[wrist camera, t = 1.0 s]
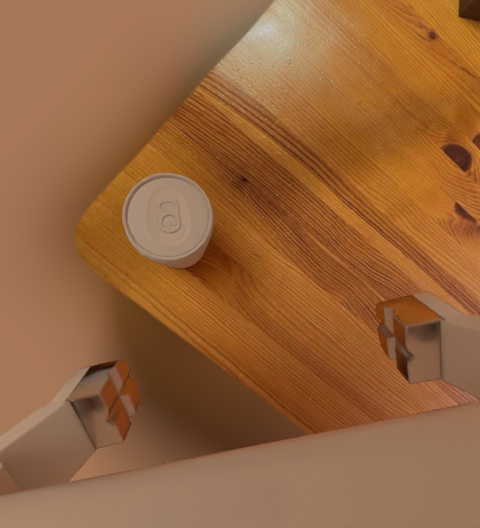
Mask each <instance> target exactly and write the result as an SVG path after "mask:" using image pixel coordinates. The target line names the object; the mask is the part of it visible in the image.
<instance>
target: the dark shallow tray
mask: <svg viewBox="0 0 480 528" xmlns="http://www.w3.org/2000/svg"><path fill="white" fill-rule="evenodd" d="M459 16H462V17H466V18H470V19H474V20H478V21H480V0H460V5H459Z"/></svg>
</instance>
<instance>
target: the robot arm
mask: <svg viewBox="0 0 480 528" xmlns="http://www.w3.org/2000/svg"><path fill="white" fill-rule="evenodd" d="M375 310H376V316H377V318H378V319H379V320H380V321H381V323H380V325H379V327H378V328H377V329H378V336H379V340H380V343H381V346H382V348H383V350H384V352H385V353H386V355H387V356H388V357H389V358H390V359H392V360H395V361H396V362H397V369H398V370H399V371H400V372H401V374H402V375H403V376H404V377H405V379H406V380H407V381H408V382H409V384H414V383H420V382H426V381H431V380H437V379H442V380H443V381H445V382H447V383H449V384H451V385H453V386H455V387H457V388H459V389H461V390H463V391H465V392H467V393H469V394H470V395H472V396H474V397H476V398H478V399H480V315H475V314H469V315H465V314H463V313H462V312H460V311H459V310H457V309H456V308H454V307H453V306H451V305H450V304H448V303H447V302H445V301H443V300H442V299H440V298H439V297H437V296H436V295H434V294H433V293H431V292H429V291H423V292H420V293H416V294H412V295H408V296H404V297H400V298H396V299H392V300H388V301H384V302H380V303H377V304H376V308H375ZM129 373H130V368H129V366H128V364H127V362H126V361H124V360H117V361H113V362H108V363H103V364H98V365H94V366H88V367H83V368H80V369H77V370H75V371H74V373H73V374H72V375H71V376H70V378H69V379H68V380H67V381H66V383H65V384H64V385H63V387H62V388H61V389H60V390H59V392H58V393H57V394H56V395H55V397H54V398H53V399H52V401H51V402H50V403H49V404H48V405H47V406H43V407H41V408H40V409H38V410H37V411H35V412H34V413H33V414H31V415H30V416H28V417H27V418H25V419H24V420H22V421H21V422H20V423H18V424H17V425H15V426H14V427H12V428H11V429H9V430H8V431H7V432H5V433H4V434H2V435H1V436H0V528H480V401H478V402H473V403H468V404H463V405H458V406H453V407H447V408H442V409H437V410H432V411H427V412H422V413H417V414H412V415H407V416H402V417H397V418H392V419H387V420H381V421H376V422H371V423H366V424H361V425H356V426H351V427H346V428H341V429H336V430H331V431H326V432H321V433H315V434H310V435H305V436H300V437H295V438H290V439H286V440H281V441H275V442H270V443H265V444H260V445H255V446H250V447H245V448H239V449H234V450H230V451H224V452H220V453H214V454H210V455H204V456H199V457H194V458H189V459H184V460H179V461H173V462H168V463H163V464H158V465H153V466H148V467H143V468H138V469H133V470H128V471H122V472H117V473H113V474H107V475H102V476H97V477H92V478H87V479H82V480H77V481H72V482H69V481H70V479H71V478H72V477H73V476H74V475H75V474H76V473H77V471H78V470H79V469H80V468H81V467H82V466H83V465H84V463H85V462H86V461H87V460H88V459H89V458H90V457H91V456H92V454H93V453H94V452H95V451H96V449H98V448H102V447H107V446H111V445H114V444H119V443H123V442H124V440H125V437H126V435H127V432H128V430H129V428H130V425H131V422H130V420H129V418H130V417H131V416H132V415H133V414H134V413H135V412H136V410H137V408H138V405H139V390H138V386H137V384H136V381H135V380H133V379H131V378H130V377H129Z"/></svg>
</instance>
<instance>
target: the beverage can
mask: <svg viewBox="0 0 480 528" xmlns="http://www.w3.org/2000/svg"><path fill="white" fill-rule="evenodd" d="M123 224H124V228H125V232H126V235H127V237H128V239H129V240H130V242H131V244H132V245H133V247H135V248H136V249H137V250H138V251H139V252H140V253H141V254H142V255H144V256H145V257H147V258H149V259H151V260H153V261H155V262H158V263H161V264H163V265H166V266H169V267H172V268H186V267H190V266H192V265H193V264H195V263H197V262H198V261H199V260H200V259H201V257H202V256H203V254H204V252H205V250H206V248H207V245H208V243H209V241H210V238H211V236H212V232H213V228H214V212H213V209H212V205H211V202H210V201H209V199H208V197H207V195H206V194H205V192H204V190H203V189H202V188H201V187H200V186H199V185H198V184H197V183H196V182H194V181H192V180H191V179H189V178H187V177H186V176H182V175H179V174H176V173H159V174H154V175H150V176H149V177H147V178H145V179H143V180H141V181H140V182H138V183H137V184H136V185H135V186H134V187H133V188H132V189H131V191H130V192H129V194H128V196H127V197H126V200H125V203H124V207H123Z"/></svg>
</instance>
